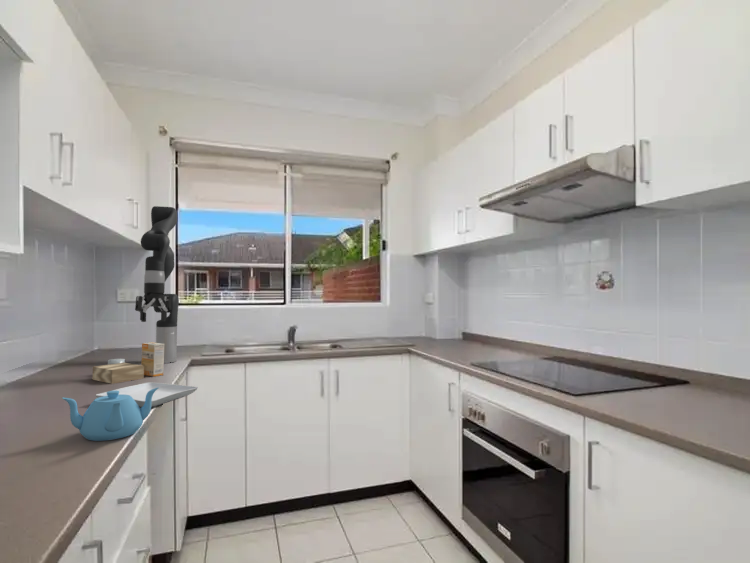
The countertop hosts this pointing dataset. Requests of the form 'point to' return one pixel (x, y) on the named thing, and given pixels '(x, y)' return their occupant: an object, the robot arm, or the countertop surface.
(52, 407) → the countertop surface
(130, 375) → the plate
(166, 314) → the robot arm
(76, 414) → the teapot
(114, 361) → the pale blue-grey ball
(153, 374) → the supplement box
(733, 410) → the countertop surface
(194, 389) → the salad plate
